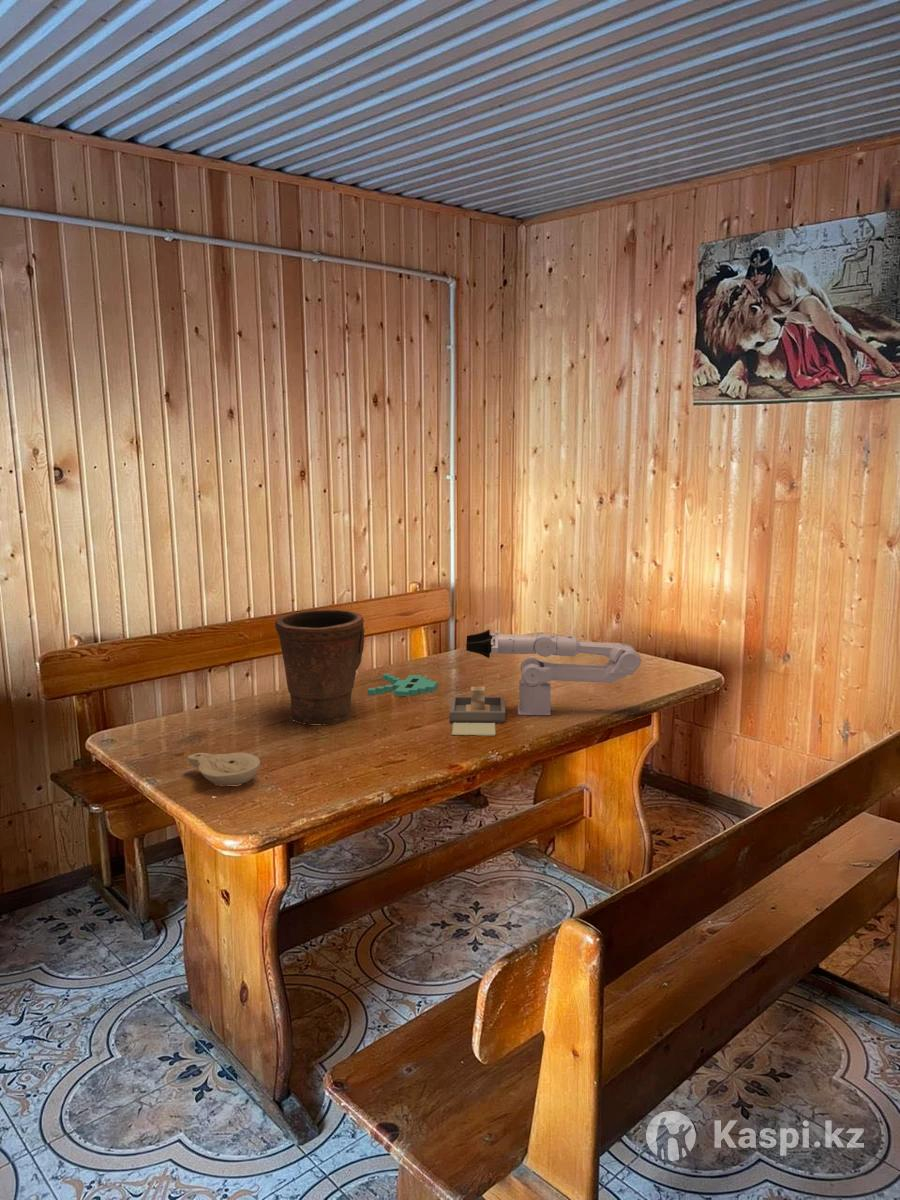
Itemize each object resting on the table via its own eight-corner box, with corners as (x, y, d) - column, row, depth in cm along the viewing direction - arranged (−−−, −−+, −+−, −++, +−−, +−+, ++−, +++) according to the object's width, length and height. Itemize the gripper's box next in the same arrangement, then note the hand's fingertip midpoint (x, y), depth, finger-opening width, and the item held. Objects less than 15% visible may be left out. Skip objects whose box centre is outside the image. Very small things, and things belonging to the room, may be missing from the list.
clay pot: (392, 711, 268) (389, 613, 263) (316, 735, 247) (312, 630, 241) (336, 695, 285) (333, 603, 279) (261, 716, 264) (256, 618, 258)
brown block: (484, 706, 266) (484, 686, 264) (484, 710, 262) (484, 690, 260) (471, 706, 266) (471, 686, 265) (470, 710, 262) (470, 690, 261)
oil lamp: (167, 781, 215) (166, 761, 214) (211, 762, 227) (210, 743, 226) (230, 798, 205) (228, 778, 204) (273, 778, 217) (272, 758, 216)
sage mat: (495, 724, 255) (494, 723, 255) (495, 735, 245) (495, 734, 245) (453, 724, 255) (453, 722, 255) (451, 735, 246) (451, 734, 246)
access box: (504, 706, 272) (504, 696, 271) (505, 723, 256) (505, 712, 255) (451, 706, 272) (451, 696, 272) (449, 723, 256) (449, 712, 256)
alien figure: (367, 696, 285) (428, 699, 281) (367, 689, 285) (428, 692, 281) (384, 679, 304) (441, 682, 300) (384, 673, 304) (441, 676, 300)
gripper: (512, 624, 269) (467, 623, 269) (513, 638, 255) (466, 636, 255) (511, 646, 270) (466, 645, 271) (512, 661, 256) (465, 660, 257)
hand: (466, 643), depth 263 cm, fingers open, 7 cm apart
